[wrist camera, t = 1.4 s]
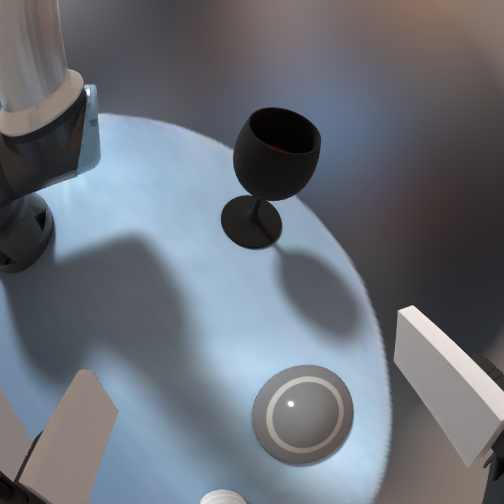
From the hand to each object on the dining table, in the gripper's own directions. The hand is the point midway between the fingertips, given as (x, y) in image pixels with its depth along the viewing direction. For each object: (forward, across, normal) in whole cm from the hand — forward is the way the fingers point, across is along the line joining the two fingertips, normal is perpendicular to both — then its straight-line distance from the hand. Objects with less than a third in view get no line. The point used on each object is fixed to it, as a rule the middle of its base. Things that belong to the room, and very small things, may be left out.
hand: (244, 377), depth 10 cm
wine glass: (+38, +2, -2) cm, 39 cm away
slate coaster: (+18, +4, -26) cm, 31 cm away
